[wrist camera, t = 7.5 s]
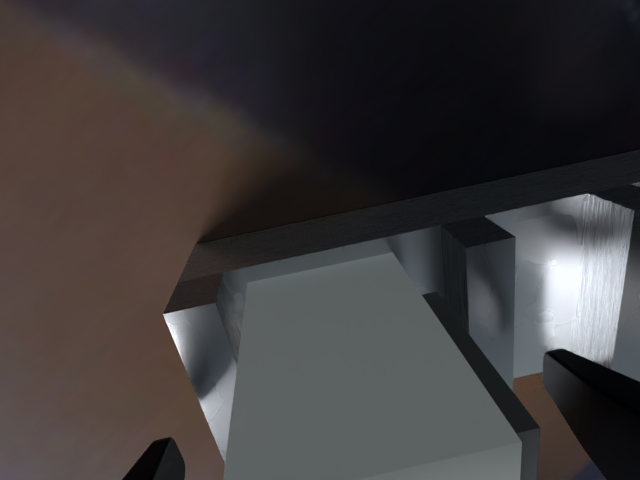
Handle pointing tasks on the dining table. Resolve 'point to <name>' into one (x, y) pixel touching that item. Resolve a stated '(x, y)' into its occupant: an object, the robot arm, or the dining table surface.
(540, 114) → the dining table surface
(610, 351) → the rail
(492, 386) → the matte gray box
